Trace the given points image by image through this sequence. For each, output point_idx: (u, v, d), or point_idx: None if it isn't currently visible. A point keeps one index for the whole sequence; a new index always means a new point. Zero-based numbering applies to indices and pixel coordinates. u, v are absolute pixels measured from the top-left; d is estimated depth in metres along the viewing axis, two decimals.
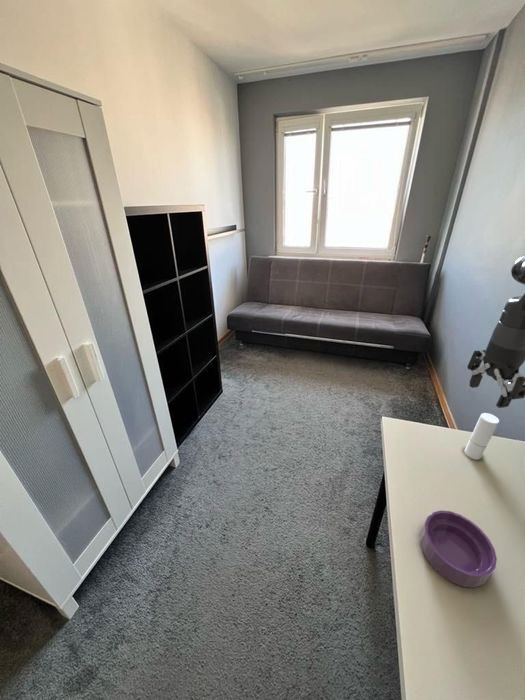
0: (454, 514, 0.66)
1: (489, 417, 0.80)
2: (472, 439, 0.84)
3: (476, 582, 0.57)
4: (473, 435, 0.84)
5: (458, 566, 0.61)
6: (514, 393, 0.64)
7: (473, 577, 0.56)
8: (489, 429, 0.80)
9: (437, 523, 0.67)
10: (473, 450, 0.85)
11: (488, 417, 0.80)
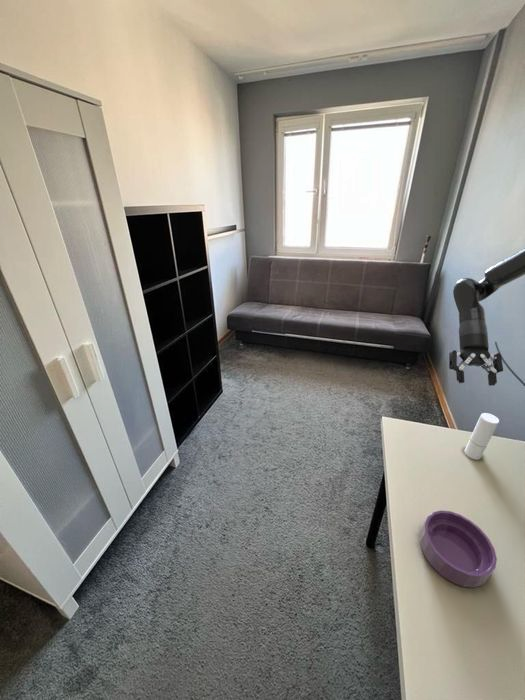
0: (454, 514, 0.66)
1: (489, 417, 0.80)
2: (472, 439, 0.84)
3: (476, 582, 0.57)
4: (473, 435, 0.84)
5: (458, 566, 0.61)
6: (501, 366, 0.87)
7: (473, 577, 0.56)
8: (490, 429, 0.79)
9: (437, 523, 0.67)
10: (473, 451, 0.85)
11: (488, 417, 0.80)
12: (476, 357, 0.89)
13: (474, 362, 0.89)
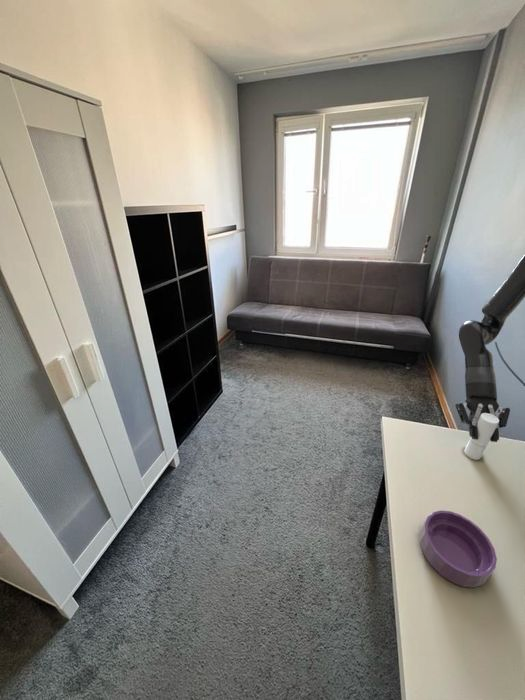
0: (454, 514, 0.66)
1: (489, 417, 0.80)
2: (472, 439, 0.84)
3: (476, 582, 0.57)
4: None
5: (458, 566, 0.61)
6: (505, 421, 0.81)
7: (473, 577, 0.56)
8: (489, 429, 0.80)
9: (437, 523, 0.67)
10: (473, 450, 0.85)
11: (488, 417, 0.80)
12: (483, 408, 0.83)
13: (481, 413, 0.83)
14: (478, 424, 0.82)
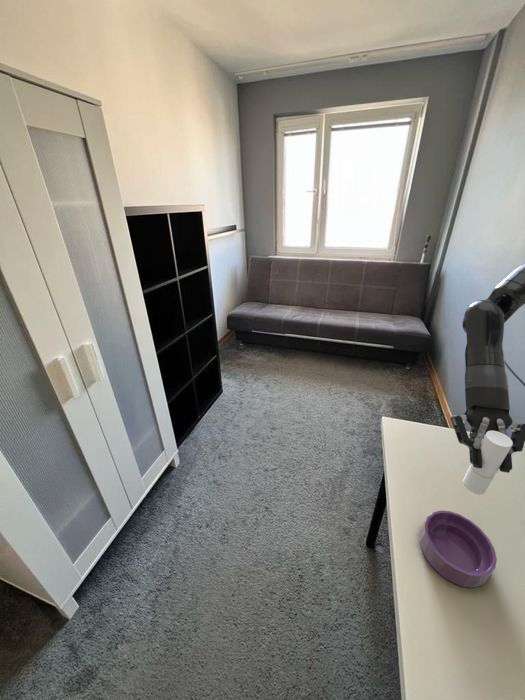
0: (454, 514, 0.66)
1: (498, 437, 0.56)
2: None
3: (476, 582, 0.57)
4: None
5: (458, 566, 0.61)
6: (521, 443, 0.57)
7: (473, 577, 0.56)
8: (499, 455, 0.55)
9: (437, 523, 0.67)
10: (475, 482, 0.61)
11: (497, 437, 0.56)
12: (490, 423, 0.59)
13: (487, 431, 0.59)
14: (482, 447, 0.57)
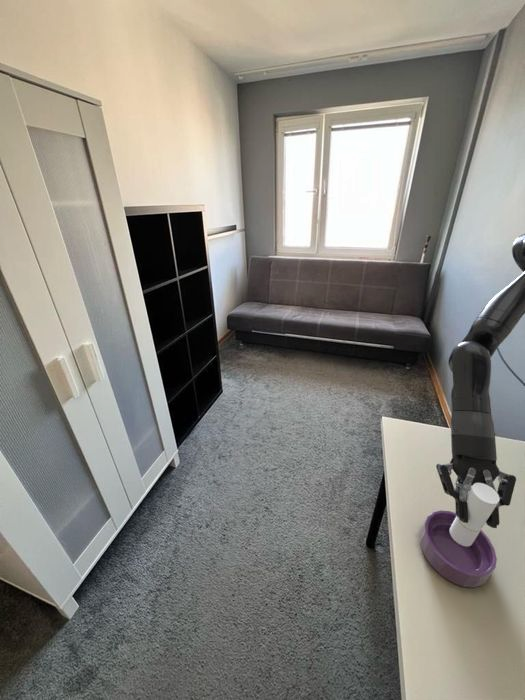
0: (454, 514, 0.66)
1: (485, 491, 0.53)
2: None
3: (476, 582, 0.57)
4: None
5: (458, 566, 0.61)
6: (508, 497, 0.54)
7: (473, 577, 0.56)
8: (485, 511, 0.53)
9: (437, 523, 0.67)
10: (461, 535, 0.58)
11: (483, 491, 0.53)
12: (477, 474, 0.56)
13: (473, 482, 0.56)
14: (468, 500, 0.55)
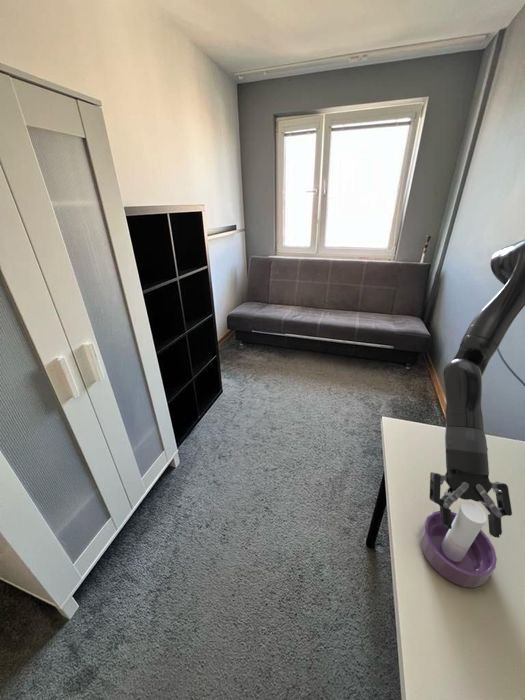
0: (454, 514, 0.66)
1: (473, 511, 0.57)
2: (450, 535, 0.61)
3: (476, 582, 0.57)
4: (451, 530, 0.60)
5: (458, 566, 0.61)
6: (508, 506, 0.56)
7: (473, 577, 0.56)
8: (473, 530, 0.56)
9: (437, 523, 0.67)
10: (452, 551, 0.61)
11: (471, 511, 0.57)
12: (470, 488, 0.58)
13: (467, 496, 0.58)
14: (458, 518, 0.58)
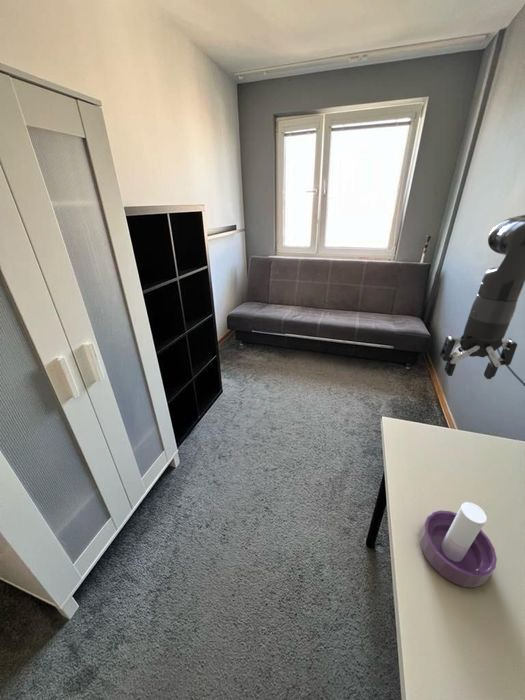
0: (454, 514, 0.66)
1: (473, 511, 0.57)
2: (450, 535, 0.61)
3: (476, 582, 0.57)
4: (451, 530, 0.60)
5: (458, 566, 0.61)
6: (509, 359, 0.65)
7: (473, 577, 0.56)
8: (473, 530, 0.56)
9: (437, 523, 0.67)
10: (452, 551, 0.61)
11: (471, 511, 0.57)
12: (480, 348, 0.65)
13: (474, 354, 0.66)
14: (458, 518, 0.58)
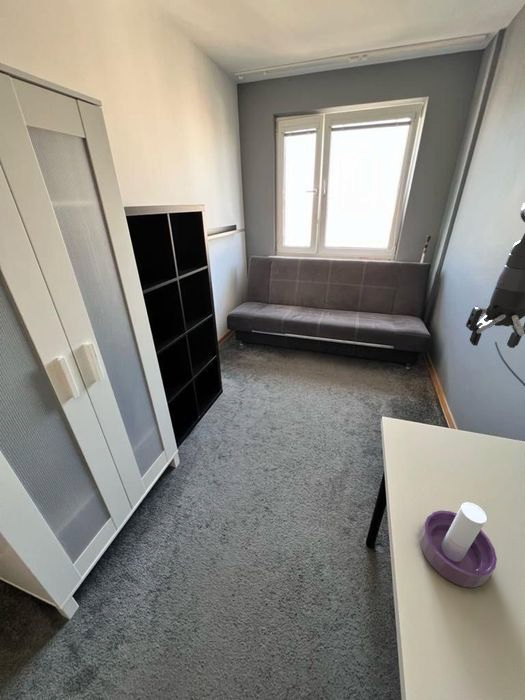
0: (454, 514, 0.66)
1: (473, 511, 0.57)
2: (450, 535, 0.61)
3: (476, 582, 0.57)
4: (451, 530, 0.60)
5: (458, 566, 0.61)
6: None
7: (473, 577, 0.56)
8: (473, 530, 0.56)
9: (437, 523, 0.67)
10: (452, 551, 0.61)
11: (471, 511, 0.57)
12: (505, 317, 0.69)
13: (500, 323, 0.70)
14: (458, 518, 0.58)
